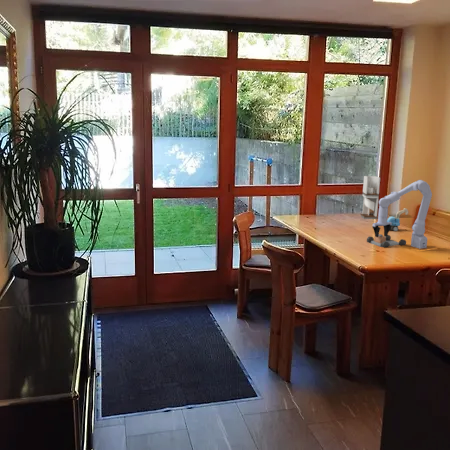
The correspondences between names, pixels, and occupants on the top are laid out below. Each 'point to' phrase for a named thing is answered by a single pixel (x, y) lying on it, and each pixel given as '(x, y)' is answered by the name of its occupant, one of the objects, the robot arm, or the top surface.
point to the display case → (370, 197)
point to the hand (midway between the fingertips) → (381, 236)
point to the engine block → (380, 238)
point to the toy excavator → (396, 219)
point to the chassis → (386, 242)
